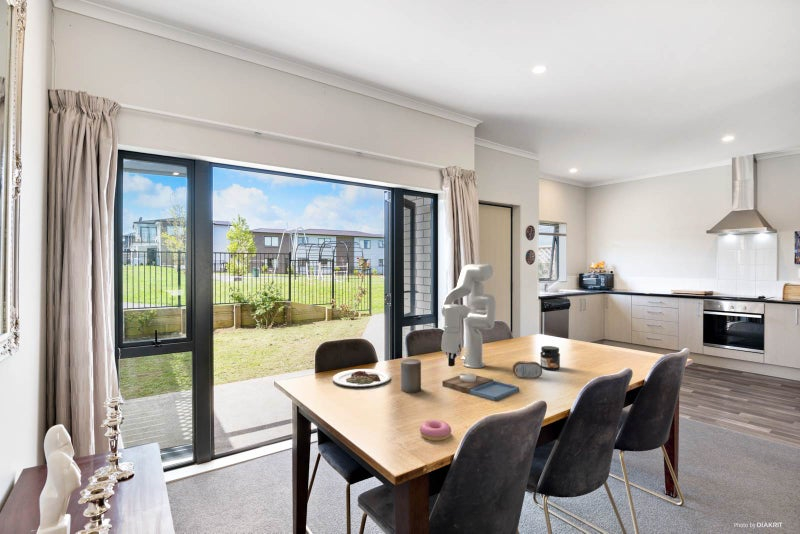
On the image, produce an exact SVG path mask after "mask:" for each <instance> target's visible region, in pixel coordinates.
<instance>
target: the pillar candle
mask: <svg viewBox="0 0 800 534" xmlns="http://www.w3.org/2000/svg"><path fill="white" fill-rule="evenodd" d="M421 361H422V360H420V359H417V358H406V359H402V360H401V361H400V390H401V391H402V392H404V393H409V394H410V393H412V394H413V393H419V392H420V391H421V390H422V362H421Z"/></svg>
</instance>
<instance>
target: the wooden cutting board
mask: <svg viewBox="0 0 800 534" xmlns="http://www.w3.org/2000/svg"><path fill="white" fill-rule="evenodd" d="M475 375H476V374H475ZM491 381H494V379H493V378H489V377H485V376H482V375H481V376H480V375H476V382H472V383H466V382H462V381H460V375H457V376H453V377H450V378H446V379H444V380H442V383H441V384H442V387H445V388H447V389H452V390H455V391H459V392H461V393H465V394H469V395H471V394H470V389H473V388H475V387H478V386H481V385H483V384H486V383H489V382H491Z"/></svg>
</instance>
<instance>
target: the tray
mask: <svg viewBox="0 0 800 534" xmlns="http://www.w3.org/2000/svg"><path fill="white" fill-rule="evenodd" d="M518 392H520V387H519V386H518V385H517V386H516V385H514V384H510V383H504V382H501V381H497V380H493V381H491V382H489V383H486V384H483V385H481V386H478V387H475V388H473V389H470V394H469V395H471V396H475V397H480V398H482V399H486V400H489V401H493V402H498V401H499V400H502V399H504V398H506V397H509V396H511V395H514V394H516V393H518Z"/></svg>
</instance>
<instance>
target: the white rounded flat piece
mask: <svg viewBox="0 0 800 534" xmlns="http://www.w3.org/2000/svg"><path fill="white" fill-rule="evenodd" d="M459 376H460V381H462V382H466V383H472V382H476V373H471V372H464V373H463V372H462V373H460V374H459Z"/></svg>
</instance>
